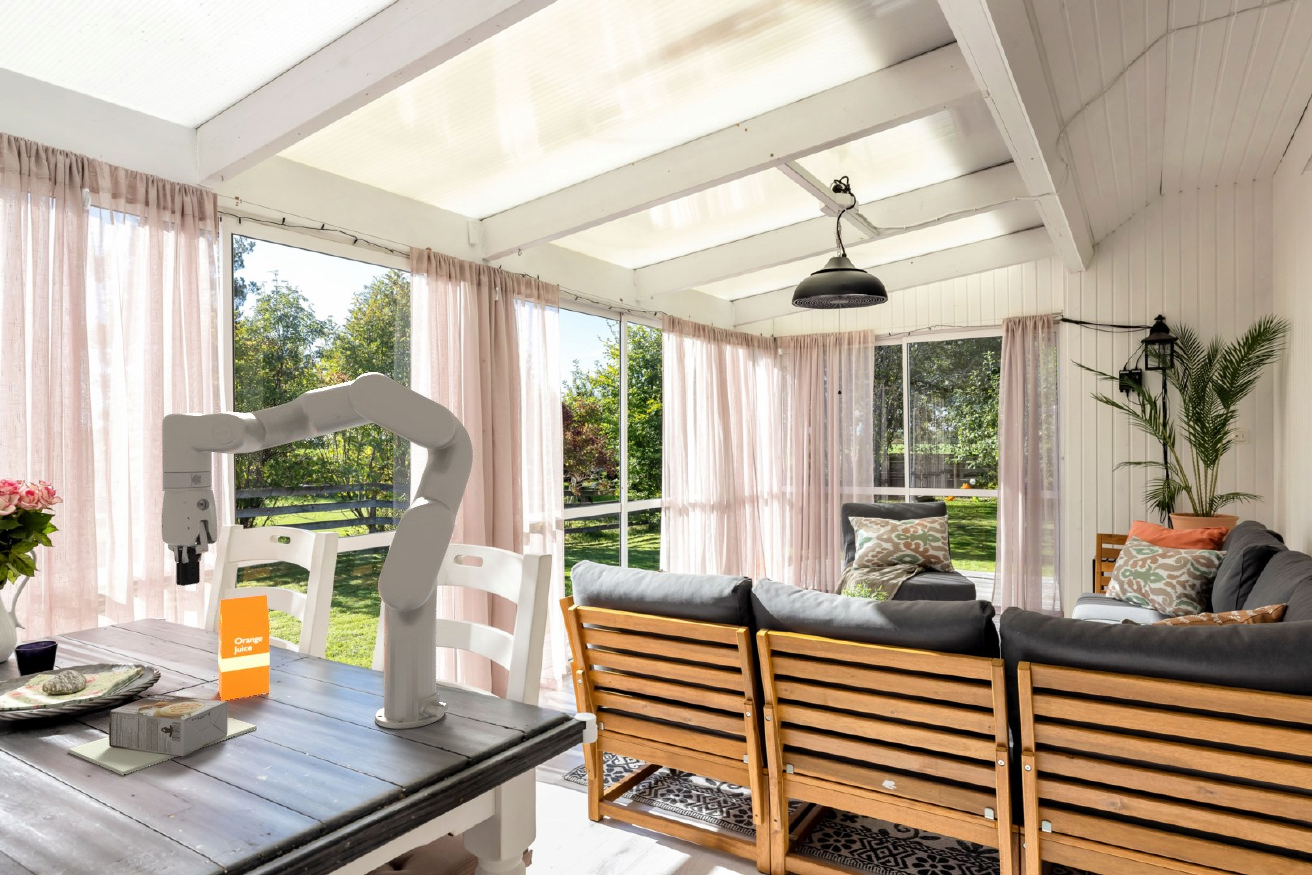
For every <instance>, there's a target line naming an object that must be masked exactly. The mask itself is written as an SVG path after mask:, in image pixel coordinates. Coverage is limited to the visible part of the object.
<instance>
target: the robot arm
mask: <svg viewBox="0 0 1312 875" xmlns="http://www.w3.org/2000/svg"><path fill="white" fill-rule="evenodd" d="M370 424H375V425H377V426H379V427H380V428H382V429H385V430H387V431H389V432H391V433H393V434H395V435H396V436H399V437H401V438H403V439H405V440H406V441H408V442H411V443H413V444H414V445H416V446H419V447H421V448H424V449H426V450H427V462H426V465H425V467H424V470H423V473H422V475H421V479H420V482H419V485H418V487H417V490H416V492H415V495H414V498H413V500H412V502H411V504H410V505H409V506H408V508H407V509H406V510H405V511H404V512H403V514H402V515H401V518H400V520H399V522H398V525H397V527H396V529H395V533H394V536H393V538H392V541H391V544H390V547H389V550H388V552H387V555H386V558H385V561H384V563H383V566H382V569H381V571H380V574H379V577H378V581H377V582H378V583H377V588H378V590H377V591H378V594H379V597H380V599H381V601H382V602H383V603H384V615H383V619H384V620H383V707H381V708H380V709H379V710H377V711H376V713H375V714H374V715H375V716H374V720H375V723H376V724H377V725H379V726H381V727H383V728H387V729H396V730H398V729H399V730H401V729H403V730H405V729H414V728H418V727H419V728H420V727H423V726H427V725H429V724H433V723H434V722H437V721H439V720H441V719H442V718H443V717H444V715H445V712H447V711H448V709H449V704H448V703H446V702H441V697H440V696H441V694H440V692H437V598H438V576H439V573H440V570H441V567H442V565H443V562H444V559H445V556H446V553H447V551H448V548H449V545H450V543H451V539H452V536H453V534H454V530H455V526H456V519H457V516H458V512H459V508H460V506H461V503H462V500H463V498H464V494H465V491H466V489H467V488H466V487H467V484H468V481H469V478H470V475H471V471H472V467H473V462H474V460H473V459H474V451H473V450H474V449H473V445H472V440H471V437H470V434H469V432H468V431H467V429H466V427H465V426H464V424H463V423H462V422H461V421H460V419H459V418H458V417H457V416H456V415H455V414H454V413H453V412H452V411H451V410H450V409H449V408H447V407H445V406H444V405H442V404H441V403H439V402H436V401H434V400H433V399H430V398H429V397H426V396H424V395H423V394H420V393H418V392H416V391H414V390H413V389H411V388H409V387H407V386H405V385H403V384H401V383H399V382H397V381H395V380H394V379H392V378H391V377H389V376H387V375H385V374H383V373H380V372H368V373H364V374H361V375H360V376H357V377H356V378H355V379H354V380H352V381H348V382H344V383H340V384H335V385H332V386H327V387H322V388H318V389H312V390H309V391H306V392H303V393H301V394H299V396H297V397H296V398H295V399H293V400H291V401H289V402H287V403H283V404H280V405H277V406H273V407H269V408H264V409H260V410H259V409H258V410H256V411H250V412H245V413H244V412H235V411H234V412H233V411H222V412H215V413H207V414H202V413H190V412H189V413H188V412H187V413H185V412H184V413H183V412H182V413H170V414H169V413H168V414H167V415H165V416H164V418H163V419H162V424H161V427H162V428H161V429H162V430H161V431H162V432H161V433H162V436H161V437H162V438H161V440H162V441H161V443H162V447H161V448H162V454H161V455H162V456H161V457H162V458H161V459H162V463H161V464H162V491H163V498H162V499H163V501H162V506H161V507H162V511H161V539H162V541H163V542H164V543H165V544H167V548H168V550H169V551H172V552H173V557H174V562H175V563H176V564H175V565H176V566H175V568H176V569H175V570H176V572H175V573H176V575H175V576H176V580H175V581H176V582H175V583H176V585H177V586H181V587H182V586H184V587H185V586H191V585H195V584H199V583H200V582H201V580H200V578H201V576H200V573H201V572H200V571H201V570H200V568H201V566H200V562H201V561H202V556H203V554H205V553H208V552H209V545H213V544H215V543H217V541H218V518H217V507H216V500H215V496H214V495H215V494H214V491H213V486H212V483H213V482H212V481H213V480H212V478H213V477H212V476H213V475H212V469H213V468H212V467H213V466H212V464H213V463H212V462H213V461H212V460H213V459H212V458H213V457H212V454H213V453H217V454H218V453H219V454H227V455H229V454H235V455H236V454H249V453H254V452H258V451H262V450H265V449H270V448H274V447H278V446H282V445H287V444H290V443H294V442H297V441H301V440H302V441H303V440H306V439H307V440H308V439H314V438H317V437H322V436H326V435H328V434H332V433H333V434H334V433H336V432H340V431H344V430H348V429H349V430H350V429H352V428H357V427H361V426H365V425H370Z"/></svg>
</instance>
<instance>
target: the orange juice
mask: <svg viewBox="0 0 1312 875" xmlns="http://www.w3.org/2000/svg"><path fill="white" fill-rule="evenodd" d="M218 620H219V621H218V652H217V653H218V660H217V661H218V662H217V663H218V694H219V693H220V694H219V698H220V697H221V698H220V701H225V700H228V701H231V700H230V699H233V700H236V699H235V698H239V699H241V698H240V697H245V698H249V696H251V697H254V696H253V695H257V694H262V693H269V694H270V663H271V662H270V658H271V657H270V619H269V607H268V595H267V594H265V595H255V596H245V597H236V598H226V599H225V598H224V599H220V605H219V619H218ZM257 696H258V695H257Z"/></svg>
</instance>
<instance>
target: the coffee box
mask: <svg viewBox="0 0 1312 875" xmlns="http://www.w3.org/2000/svg"><path fill="white" fill-rule="evenodd" d="M228 705H229V703H228V701H221V700H217V699H216V700H215V699H205V698H197V697H189V696H178V695H170V694H158V693H154V694H152V695H149V696H145V697H143V698H140V699H138V700H135V701H133V702H129V703H127V704H124V705H122V706H120V707H117V708H114V709H111V710H110V711H109V713H110V716H109V718H110V721H109V724H108V737H109V746H110V747H118V748H125V749H132V750H139V751H147V752H154V753H162V754H169V755H177V756H178V757H185V756H187V755H190V754H192V753H194V752H196V751H198V750H200V748H201V749H203V748H202V747H204V748H206V747H205V746H207V745H209V744H211V743H213V742H215V741H217V740H219V739H221V738H223V737H226V736H227V721H228V717H229V716H228V714H229V713H228V712H229V711H228ZM209 746H210V745H209ZM207 747H208V746H207Z"/></svg>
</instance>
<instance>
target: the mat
mask: <svg viewBox="0 0 1312 875" xmlns="http://www.w3.org/2000/svg"><path fill="white" fill-rule="evenodd" d="M257 728H258V726H257V725H255V724H252V723H248V722H245V721H242V720H239V719H236V718H233V717H229V716H228V721H227V736H226V737H223V738H221V739H219V740H217V741H215V742H213V743H211V744H212V745H215V744H217V742H218V743H220V741H221V742H223V741H222V740H224V741H226V739H227V740H229V739H228V738H230V739H232V738H234V737H233V736H235V737H238V736H241V735H244V734H246V732H247V733H249V732H248V731H250V732H252V730H253V731H255V730H254V729H256V730H257ZM243 733H244V734H243ZM240 734H241V735H240ZM231 737H232V738H231ZM214 743H215V744H214ZM209 746H211V745H210V744H209ZM204 748H206V746H205V747H204ZM201 749H203V747H202V748H201ZM67 750H68V752H67V753H69V754H71V755H73V756H75V757H79V758H81V759H83V760H86V761H87V762H90V763H93V764H95V765H97V766H99V765H100V766H99V767H103V768H105V770H110V771H111V770H112V772H114V773H117V774H118V775H121V776H125V775H124V774H126V775H129V774H131V772H132V773H134V772H136V770H137V771H140V770H143V769H145V768H144V767H146V768H148V767H147V766H149V765H152V766H154V764H155V765H157V763H158V764H160V763H163V762H166V761H168V759H169V760H172V759H174V757H175V758H177V757H179V756H177V755H169V754H162V753H154V752H147V751H139V750H132V749H125V748H118V747H110V746H109V736H107V737H103V738H99V739H97V740H93V741H90V742H87V743H83V744H79V745H77V746H73V747H70V748H68V749H67ZM171 758H172V759H171ZM162 761H163V762H162ZM159 762H160V763H159ZM149 767H150V766H149ZM142 768H143V769H142ZM133 771H134V772H133Z"/></svg>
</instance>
